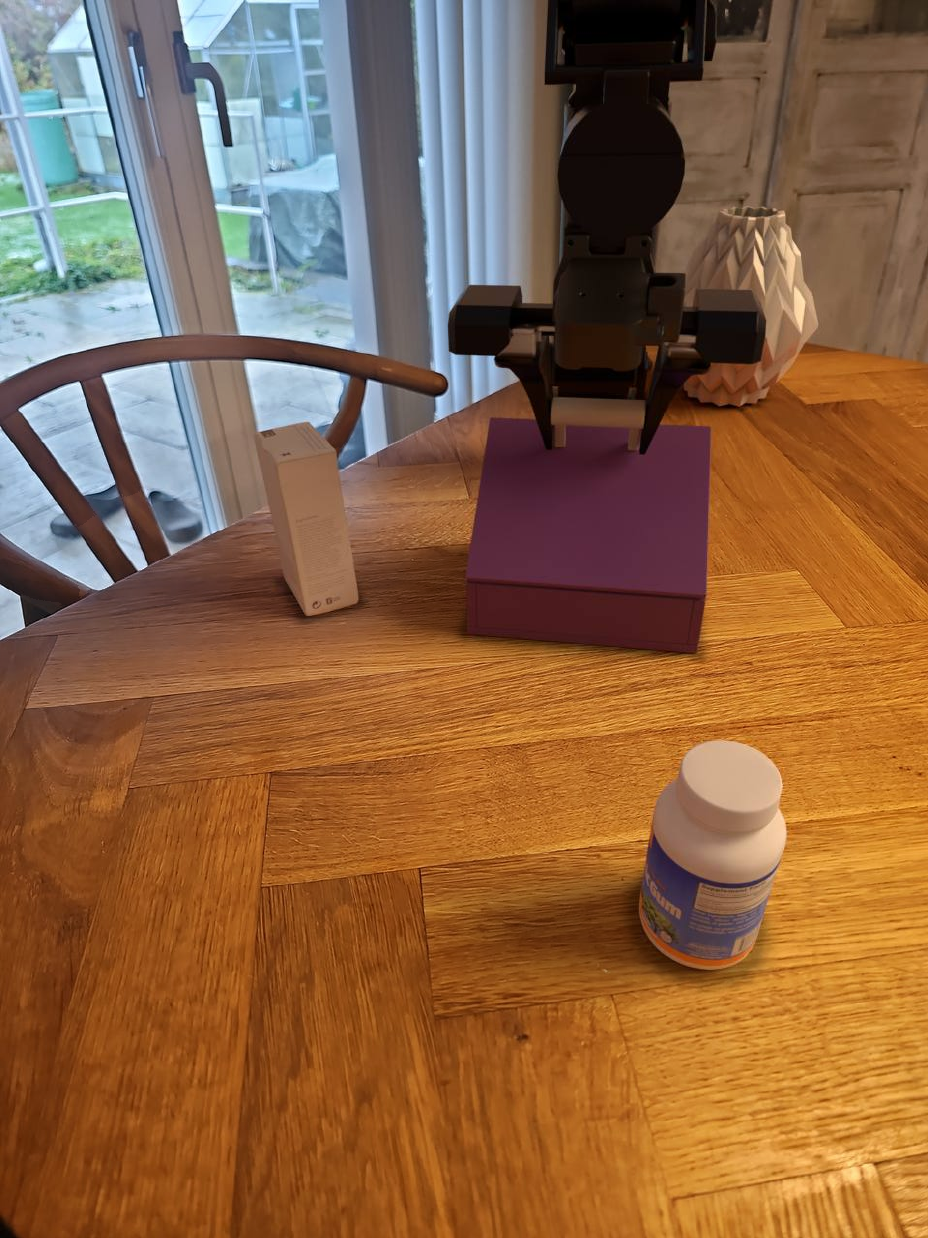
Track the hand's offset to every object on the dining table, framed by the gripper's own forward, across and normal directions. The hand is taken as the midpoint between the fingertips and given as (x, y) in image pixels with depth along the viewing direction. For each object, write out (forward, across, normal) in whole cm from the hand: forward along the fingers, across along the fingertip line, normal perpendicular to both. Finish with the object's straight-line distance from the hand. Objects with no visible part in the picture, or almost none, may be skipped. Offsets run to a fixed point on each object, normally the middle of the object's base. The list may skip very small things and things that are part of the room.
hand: (595, 449), depth 58 cm
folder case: (+10, 0, -2) cm, 11 cm away
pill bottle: (+10, +7, -29) cm, 32 cm away
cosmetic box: (+11, -20, -5) cm, 23 cm away
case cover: (+3, 0, -2) cm, 4 cm away
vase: (+12, +13, +40) cm, 44 cm away
